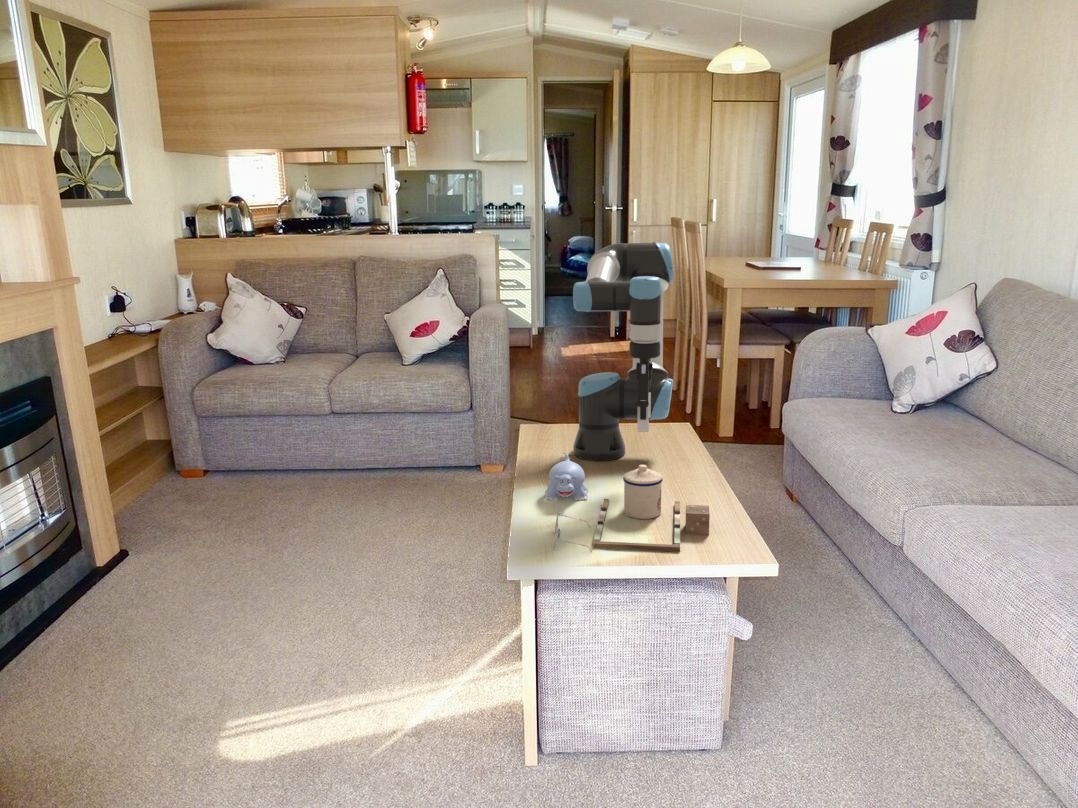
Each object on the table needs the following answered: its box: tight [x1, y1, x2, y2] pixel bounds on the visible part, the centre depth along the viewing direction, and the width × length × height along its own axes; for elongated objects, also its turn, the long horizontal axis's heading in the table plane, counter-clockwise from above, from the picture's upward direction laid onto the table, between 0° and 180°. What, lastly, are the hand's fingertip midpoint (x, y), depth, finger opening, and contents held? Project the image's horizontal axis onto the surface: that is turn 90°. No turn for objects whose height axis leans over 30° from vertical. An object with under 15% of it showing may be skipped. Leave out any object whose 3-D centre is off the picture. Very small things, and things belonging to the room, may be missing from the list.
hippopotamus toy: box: [544, 452, 589, 502], centre depth 197 cm, size 11×15×10 cm
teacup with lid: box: [622, 464, 663, 520], centre depth 187 cm, size 12×9×12 cm
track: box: [592, 498, 681, 553], centre depth 180 cm, size 26×18×2 cm
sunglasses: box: [553, 511, 593, 553], centre depth 173 cm, size 14×8×5 cm, turn 178°
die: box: [685, 504, 711, 536], centre depth 176 cm, size 5×5×5 cm
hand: (644, 424), depth 200 cm, fingers open, 13 cm apart
